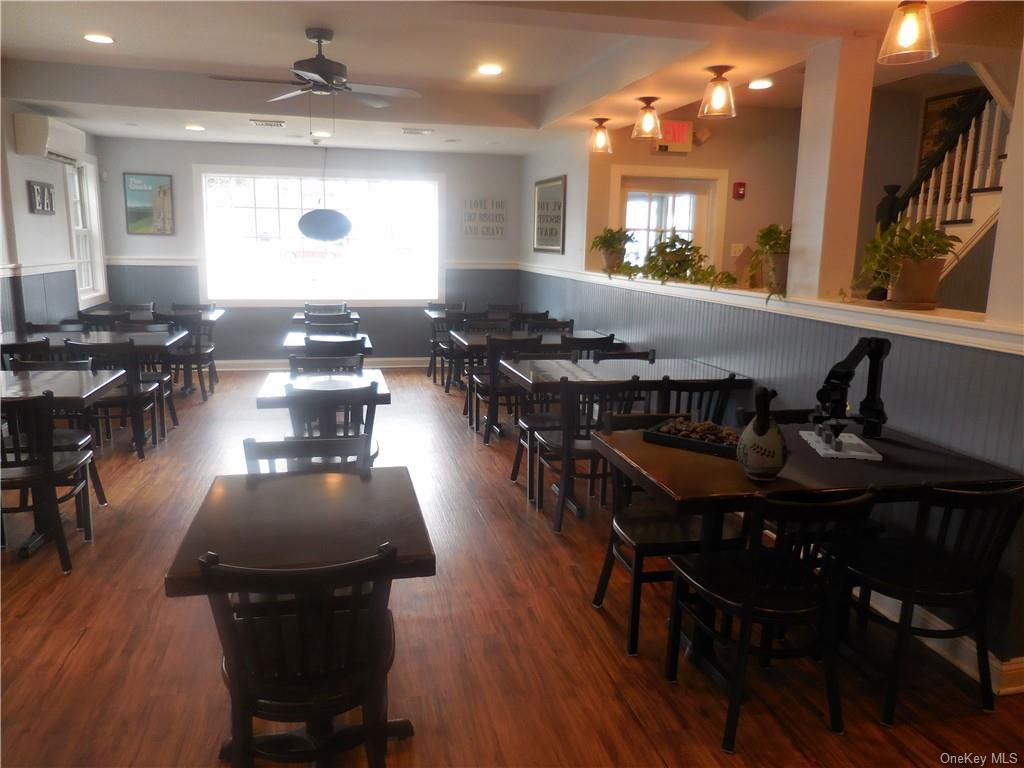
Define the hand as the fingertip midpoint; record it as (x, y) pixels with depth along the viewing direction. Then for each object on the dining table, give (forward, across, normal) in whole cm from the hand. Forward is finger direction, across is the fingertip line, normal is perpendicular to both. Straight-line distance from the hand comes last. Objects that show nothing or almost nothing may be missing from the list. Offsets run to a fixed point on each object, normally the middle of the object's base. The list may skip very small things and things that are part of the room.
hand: (835, 441), depth 267 cm
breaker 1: (0, +3, -10) cm, 10 cm away
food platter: (+1, +46, +7) cm, 46 cm away
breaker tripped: (0, +3, 0) cm, 3 cm away
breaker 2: (0, +3, +10) cm, 10 cm away
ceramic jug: (+1, +37, +43) cm, 56 cm away
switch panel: (+2, -1, 0) cm, 3 cm away
